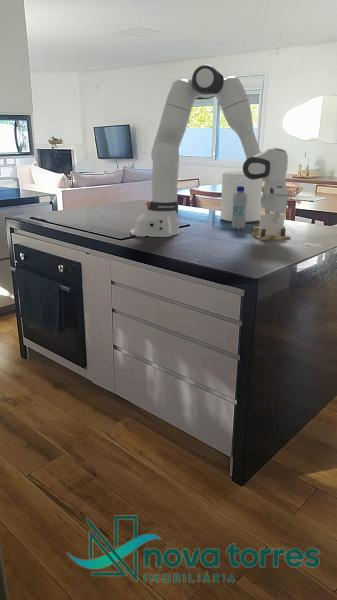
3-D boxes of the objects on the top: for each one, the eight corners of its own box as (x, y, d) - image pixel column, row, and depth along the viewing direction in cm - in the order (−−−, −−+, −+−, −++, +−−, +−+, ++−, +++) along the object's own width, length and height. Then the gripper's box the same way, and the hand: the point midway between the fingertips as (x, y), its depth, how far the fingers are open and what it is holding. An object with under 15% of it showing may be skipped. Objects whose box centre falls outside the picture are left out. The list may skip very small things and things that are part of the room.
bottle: (245, 230, 208) (247, 186, 201) (230, 230, 209) (232, 186, 203) (245, 228, 214) (248, 185, 207) (231, 227, 216) (233, 185, 209)
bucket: (232, 215, 251) (235, 169, 243) (268, 219, 239) (272, 171, 231) (209, 221, 231) (211, 172, 223) (247, 226, 220) (250, 174, 211)
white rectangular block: (260, 235, 193) (262, 214, 190) (258, 234, 196) (260, 213, 192) (282, 235, 195) (284, 214, 192) (280, 233, 197) (282, 213, 194)
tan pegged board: (258, 239, 190) (259, 230, 188) (251, 235, 199) (252, 226, 198) (290, 239, 192) (291, 229, 190) (281, 234, 201) (282, 225, 200)
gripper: (259, 185, 197) (256, 217, 202) (275, 191, 178) (272, 225, 183) (272, 185, 198) (269, 217, 203) (291, 191, 179) (287, 225, 184)
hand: (271, 221), depth 193 cm, fingers open, 8 cm apart
